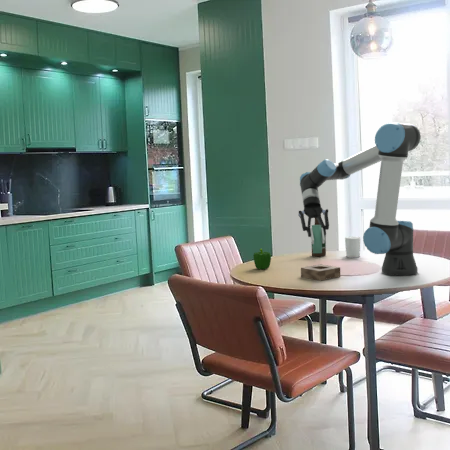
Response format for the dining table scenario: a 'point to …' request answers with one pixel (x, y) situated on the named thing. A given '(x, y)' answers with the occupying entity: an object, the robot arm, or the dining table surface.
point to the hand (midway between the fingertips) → (318, 241)
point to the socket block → (320, 272)
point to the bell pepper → (262, 259)
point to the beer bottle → (322, 245)
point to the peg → (317, 239)
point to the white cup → (352, 246)
